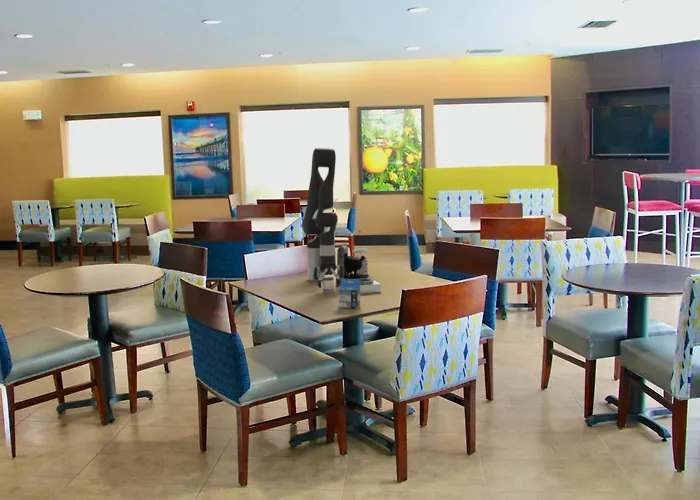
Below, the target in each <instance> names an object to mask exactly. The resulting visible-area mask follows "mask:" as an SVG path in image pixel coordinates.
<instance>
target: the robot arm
mask: <svg viewBox="0 0 700 500" xmlns="http://www.w3.org/2000/svg"><path fill="white" fill-rule="evenodd" d="M336 156H337V155H336V151H335V149H334V148H330V147H329V148H327V147H316V148H314V150H313V151H312V157H311V170H310V171H311V172H310V179H309V187H308V191H307V203H306V210H305V212H304V217H303V223H302V230H303V233H304V234H305V235H308V236H309V235H316V236H315V237H314V238H312V239H310V240H308V241H307V242H306V262H307V265H306V266H307V280H308V281H313V282H314V281H316V283H317V287H318V288H319V289H322V281H323V277H326V276H333V277H335V287H339V286H340V285H339V284H340V283H339V279H340V278H342V277H343V268H342V265H338V266H337V260H336V259H337V258H336V257H337V256H336V255H337V254H336V253H337V252H336V246H335V245H336V244H335V239H336V238H335V235H336V227H337V225H338V220H339V218H338V215H337V214H336V213H335V212H332V211H331V212H329V211H328V212H325V210H330V209H331V208H333V207H334V183H335V174H336V162H337V161H336V160H337V157H336ZM319 168H328V170H327V175H326V177H325V179H323V177H322V176H321V173H320V171H319ZM315 214H316V216H315ZM325 228H329V230H327V231H325ZM337 268H338V270H339V275H337Z"/></svg>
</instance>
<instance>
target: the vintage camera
mask: <svg viewBox="0 0 700 500" xmlns="http://www.w3.org/2000/svg"><path fill="white" fill-rule="evenodd" d="M336 251H337V252H336V253H337V254H336V257H337V258H336V259H337V260H336V266H338V265H342V268H343V277H342V278H340V279H339V283H340V284H339V285H338V286H341V279H363V278H364V279H365V278H366V279H369V277H370V276H368V275H362V274H361V273H359V274H357V272H358V270H360V269H361V267H362V263H363V262H362V260H364V259H365V257H366V256H365V255H360V256H361V258H360V259H358V258H356V257H357V256H356V257H355V256H354V255H352V256H351V255H348V254H349V253H348V252H349V248H348V245H347V244H345V243H343V244H342V245H339V247H338V248H337V250H336ZM353 256H354V257H353ZM365 260H366V259H365ZM336 273H337V275H339V270H338V268H337V269H336Z"/></svg>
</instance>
